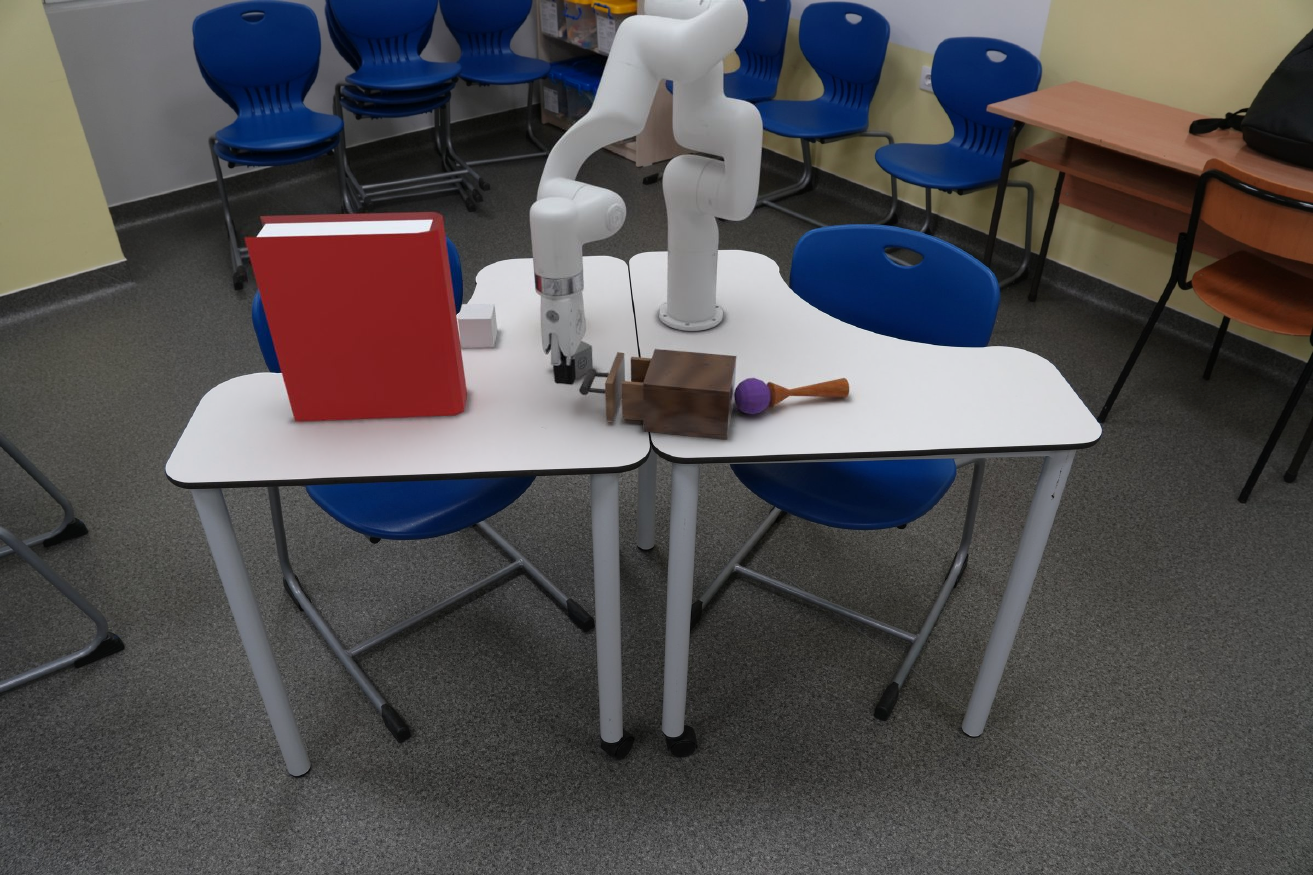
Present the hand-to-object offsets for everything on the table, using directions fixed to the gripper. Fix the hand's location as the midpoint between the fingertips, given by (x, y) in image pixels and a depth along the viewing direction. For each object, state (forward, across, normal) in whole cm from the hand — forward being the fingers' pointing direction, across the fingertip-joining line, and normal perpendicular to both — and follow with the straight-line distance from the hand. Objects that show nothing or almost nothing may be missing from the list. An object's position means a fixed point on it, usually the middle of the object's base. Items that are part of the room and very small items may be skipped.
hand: (565, 381), depth 150 cm
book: (+5, -5, +30) cm, 31 cm away
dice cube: (+5, +11, +2) cm, 12 cm away
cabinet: (+5, 0, -21) cm, 21 cm away
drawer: (+4, 0, -12) cm, 12 cm away
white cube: (+5, +19, +22) cm, 29 cm away
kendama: (+5, +7, -37) cm, 38 cm away
